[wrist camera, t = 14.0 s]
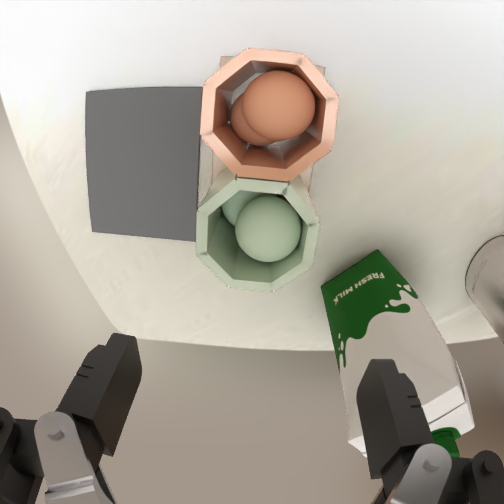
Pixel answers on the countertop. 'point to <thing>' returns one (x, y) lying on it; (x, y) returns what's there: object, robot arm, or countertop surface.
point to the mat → (144, 161)
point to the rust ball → (245, 126)
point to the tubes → (260, 169)
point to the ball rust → (278, 105)
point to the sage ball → (240, 203)
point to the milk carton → (393, 347)
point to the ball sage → (268, 228)
